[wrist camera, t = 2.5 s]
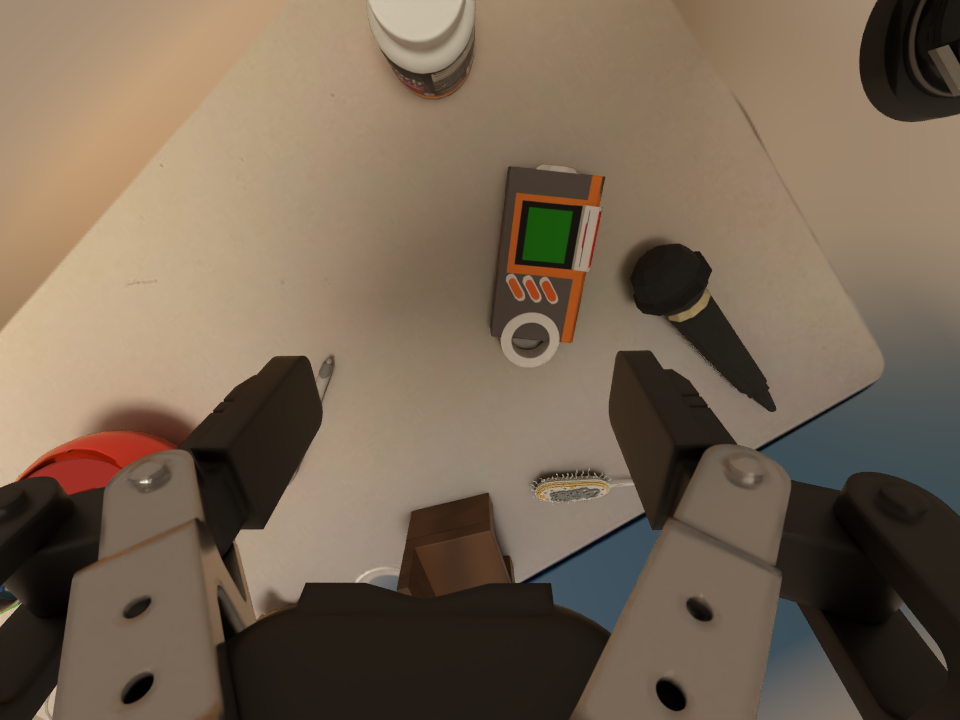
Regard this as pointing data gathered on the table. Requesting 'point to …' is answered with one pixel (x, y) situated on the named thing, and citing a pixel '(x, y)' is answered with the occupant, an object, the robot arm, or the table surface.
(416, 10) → the pill bottle
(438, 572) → the brown block with flange
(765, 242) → the table surface
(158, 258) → the table surface
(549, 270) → the electronic device
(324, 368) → the pen
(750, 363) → the microphone
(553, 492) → the bacterium model
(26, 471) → the ball
